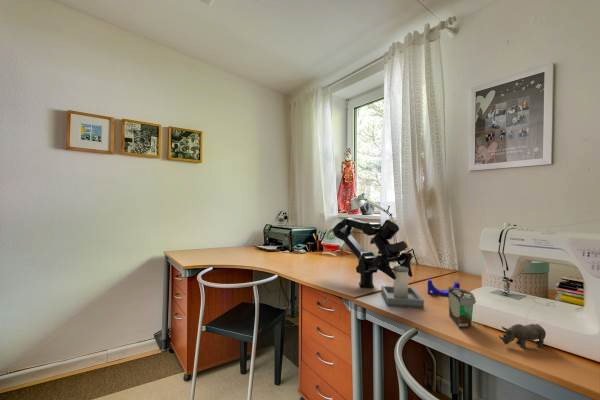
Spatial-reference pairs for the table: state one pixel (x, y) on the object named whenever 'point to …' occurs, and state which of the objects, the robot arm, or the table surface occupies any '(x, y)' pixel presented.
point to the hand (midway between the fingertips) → (403, 277)
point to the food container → (461, 307)
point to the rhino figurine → (524, 334)
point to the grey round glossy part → (401, 282)
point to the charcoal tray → (411, 302)
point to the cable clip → (439, 292)
